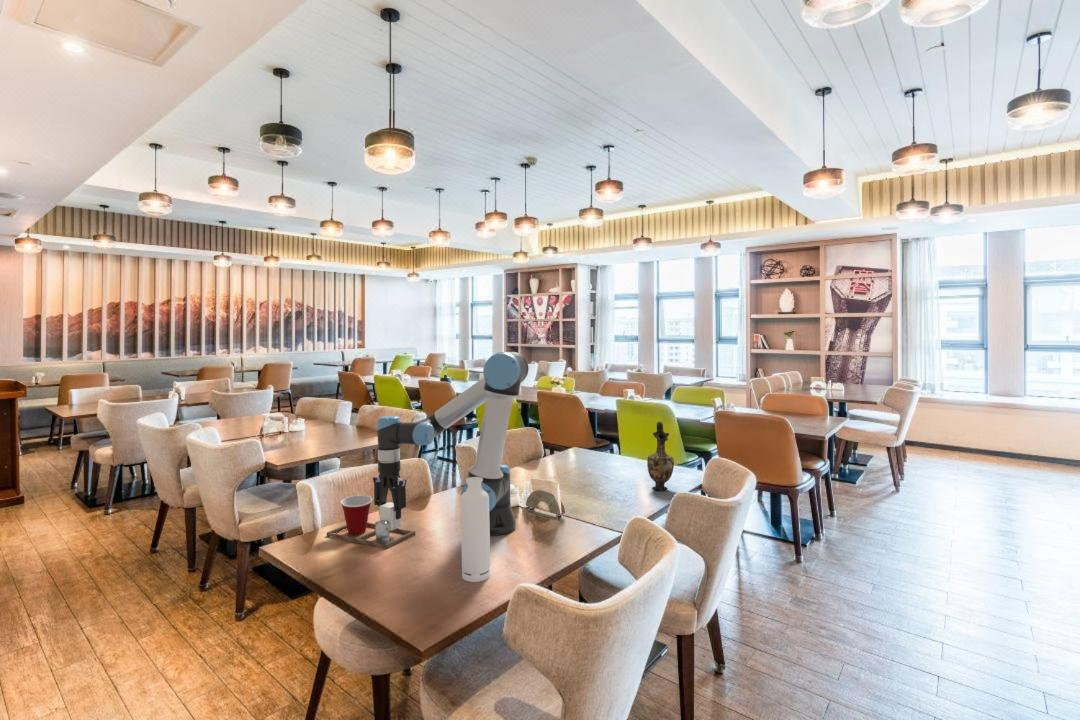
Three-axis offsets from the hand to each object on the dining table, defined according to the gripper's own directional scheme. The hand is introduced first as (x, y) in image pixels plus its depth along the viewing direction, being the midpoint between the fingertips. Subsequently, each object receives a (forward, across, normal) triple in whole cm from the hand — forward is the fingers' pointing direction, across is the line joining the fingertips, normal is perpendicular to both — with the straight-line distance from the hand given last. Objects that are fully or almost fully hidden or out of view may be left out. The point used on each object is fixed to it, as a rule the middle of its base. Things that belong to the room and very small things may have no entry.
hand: (390, 526), depth 184 cm
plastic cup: (+4, +13, +2) cm, 14 cm away
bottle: (+3, -45, +14) cm, 47 cm away
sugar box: (0, 0, 0) cm, 0 cm away
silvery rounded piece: (+3, -2, +6) cm, 7 cm away
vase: (+3, -70, -97) cm, 120 cm away
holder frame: (+3, +7, +2) cm, 8 cm away
